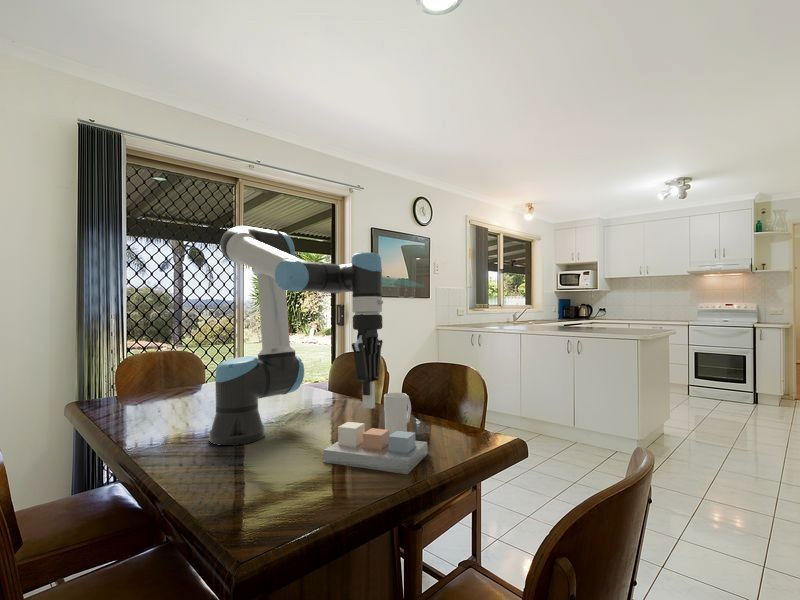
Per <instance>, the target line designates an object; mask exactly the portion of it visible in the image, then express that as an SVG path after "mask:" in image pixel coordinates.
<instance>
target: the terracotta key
mask: <svg viewBox="0 0 800 600" xmlns="http://www.w3.org/2000/svg"><path fill="white" fill-rule="evenodd" d="M387 446H389V430H385V428H384V429H382V428H374V427H371V428H370V429H368V430H365V432H364V433H363V448H365V449H373V450H381V451H382V450H383V449H385V448H386V447H387Z"/></svg>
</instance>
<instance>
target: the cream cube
mask: <svg viewBox="0 0 800 600" xmlns="http://www.w3.org/2000/svg"><path fill="white" fill-rule="evenodd" d="M364 432H366V423H363V422H362V423H361V422H356V421H355V422H353V421H347V422H345V423H343V424H341V425H339V426H337V442H338V445H340V446H349V447H358V446H359V445H361V444H362V443H363V433H364Z"/></svg>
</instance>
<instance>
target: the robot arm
mask: <svg viewBox="0 0 800 600" xmlns="http://www.w3.org/2000/svg"><path fill="white" fill-rule="evenodd" d="M219 247H220V250H221V253H222V254H223V255H224V257H226V259H228V260H230V261H231V262H233V263H235V264H237V265H238V264H239V265H247V266H249V267H250V268H251V271H252V272H253V274H255V275H256V276H257V277H256V278H257V290H258V304H259V305H258V306H259V317H260V318H259V319H260V332H261V347H262V348H261V350H260V351H259V353H258V354H257V356H255V355H247V356H239V357H234V358H230V359H226V360H223V361H220V362H219V363H218V364H217V366H216V368H215V377H214V381H215V415H214V419H213V422H212V426H211V430H210V432H209V434H208V442H209V441H210V442H212V443H215V444H220V445H233V446H240V445H239V444H241V445H246V443H247V444H250V443H254V442H257V441H260V439H263V438H264V437H265V426H264V424H263V422H262V418H261V414H260V410H259V399H263V398H269V397H270V398H271V397H274V396H280V395H281V396H282V395H287V394H290V393H294V392H295V391H297V390H298V389H299V388H300V387H301V385H302V384H303V381H304V377H305V366H304V362H302V360H303V359H301V358H300V357H299V356H297V355H296V350H295V349H294V348H293V347H291V342H290V330H289V329H290V328H289V318H288V316H289V315H288V302H287V291H289V292H316V293H317V292H320V293H328V294H341V293H350V292H352V295H351V296H352V313H353V314H354V315H353V316H352V330H354V331H357V335H356V342H352V344H351V348H352V351H353V356H354V362H355V371H356V372H355V373H356V378H357V379H356V380H357V381H358V382H359V383H362V386H361V387H362V408H363V409H374V408H376V395H375V394H376V393H375V392H376V388H375V387H376V386H375V384H376V381H377V382H378V381H379V376H380V366H381V365H380V364H381V353H382V347H383V339H379V334H378V330H381V329H382V328H383V315H382V314H381V313H382V312H383V304H384V301H383V299H382V296H383V293H382V292H383V287H382V282H383V277H382V275H383V269H382V259H381V258H382V256H381V255H379V254H378V253H375V252H357V253H354V254H353V255H352V256H351V262H350V263H344V264H337V263H325V262H315V261H308V260H304V259H302V258H298V257H296V248H295V244H294V242H293V239H292V238H291V237H290V236H289V235H288V234H287V233H286V232H282V231H278V230H275V229H272V230H271V229H265V228H260V227H253V226H248V225H247V226H246V225H238V226H235V227H234V226H233V227H231V228H229V229H227V231H225V232H224V233H223V235H222V237H221V239H220V245H219ZM210 442H209V443H210Z"/></svg>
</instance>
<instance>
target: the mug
mask: <svg viewBox="0 0 800 600" xmlns="http://www.w3.org/2000/svg"><path fill="white" fill-rule="evenodd" d="M383 409H384V429H385V430H389V436H390V435H391V434H393V433H394V432H395V431H405V432H408V423H410V418H411V413H412V404H411V400H410V396H409V395H407V393H404V392H388V393H385V394H384V395H383Z"/></svg>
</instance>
